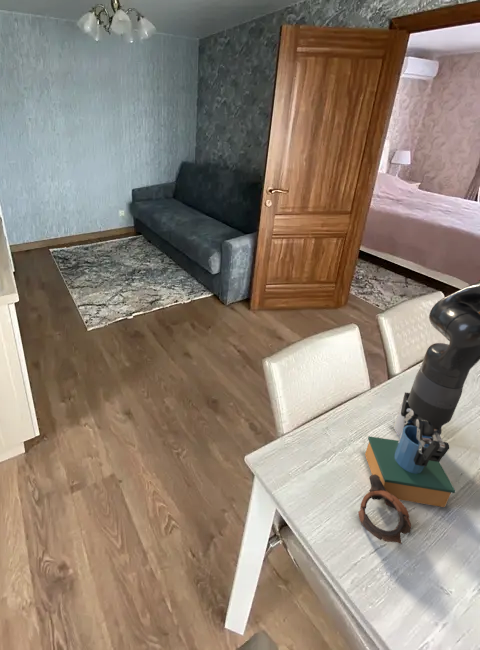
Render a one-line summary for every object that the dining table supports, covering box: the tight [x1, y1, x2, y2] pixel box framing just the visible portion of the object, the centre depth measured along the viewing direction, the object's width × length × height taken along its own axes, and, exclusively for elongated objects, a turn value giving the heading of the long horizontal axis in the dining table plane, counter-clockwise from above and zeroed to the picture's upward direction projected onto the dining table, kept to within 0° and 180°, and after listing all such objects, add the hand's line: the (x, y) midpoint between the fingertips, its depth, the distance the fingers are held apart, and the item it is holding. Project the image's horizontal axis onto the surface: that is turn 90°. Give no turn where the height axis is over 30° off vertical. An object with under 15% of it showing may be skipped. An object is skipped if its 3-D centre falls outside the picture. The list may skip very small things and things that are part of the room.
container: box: [364, 435, 456, 508], centre depth 79 cm, size 14×11×6 cm
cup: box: [394, 425, 431, 474], centre depth 76 cm, size 6×6×8 cm
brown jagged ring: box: [357, 474, 412, 545], centre depth 72 cm, size 12×10×8 cm
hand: (412, 450), depth 76 cm, fingers closed on cup, 5 cm apart
